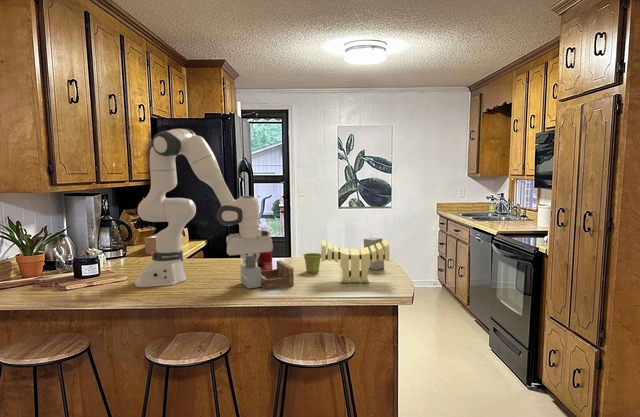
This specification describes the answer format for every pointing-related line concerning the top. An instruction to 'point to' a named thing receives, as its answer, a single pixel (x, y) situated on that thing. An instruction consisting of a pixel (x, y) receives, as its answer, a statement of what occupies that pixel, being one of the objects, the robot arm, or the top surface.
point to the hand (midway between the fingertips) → (250, 263)
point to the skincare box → (373, 241)
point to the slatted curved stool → (355, 260)
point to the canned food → (265, 261)
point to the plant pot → (312, 262)
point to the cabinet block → (250, 273)
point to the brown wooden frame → (278, 276)
